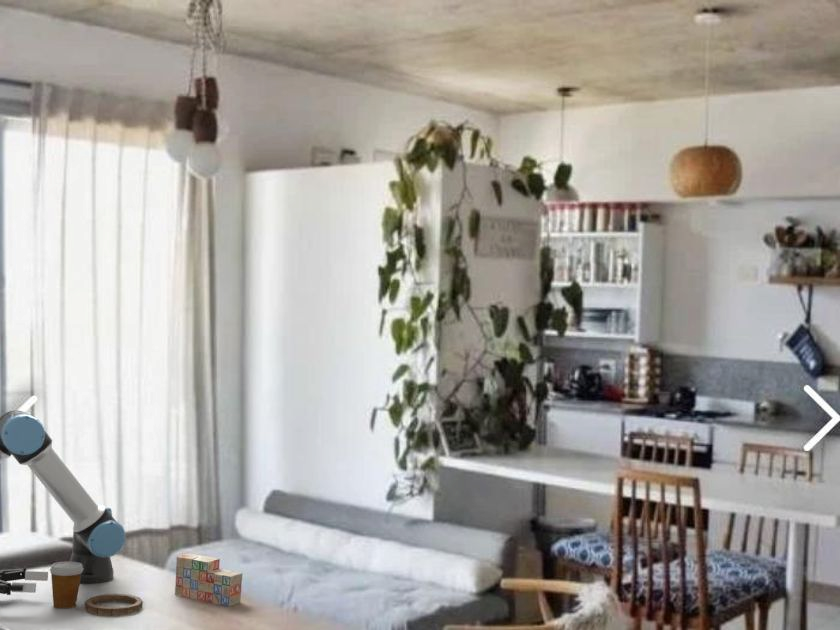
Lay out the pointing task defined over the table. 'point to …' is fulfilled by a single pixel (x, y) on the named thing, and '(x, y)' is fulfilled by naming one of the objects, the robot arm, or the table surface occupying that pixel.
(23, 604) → the table surface
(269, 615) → the table surface
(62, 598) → the disposable coffee cup
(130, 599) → the walnut bead ring
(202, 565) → the stack of blocks
